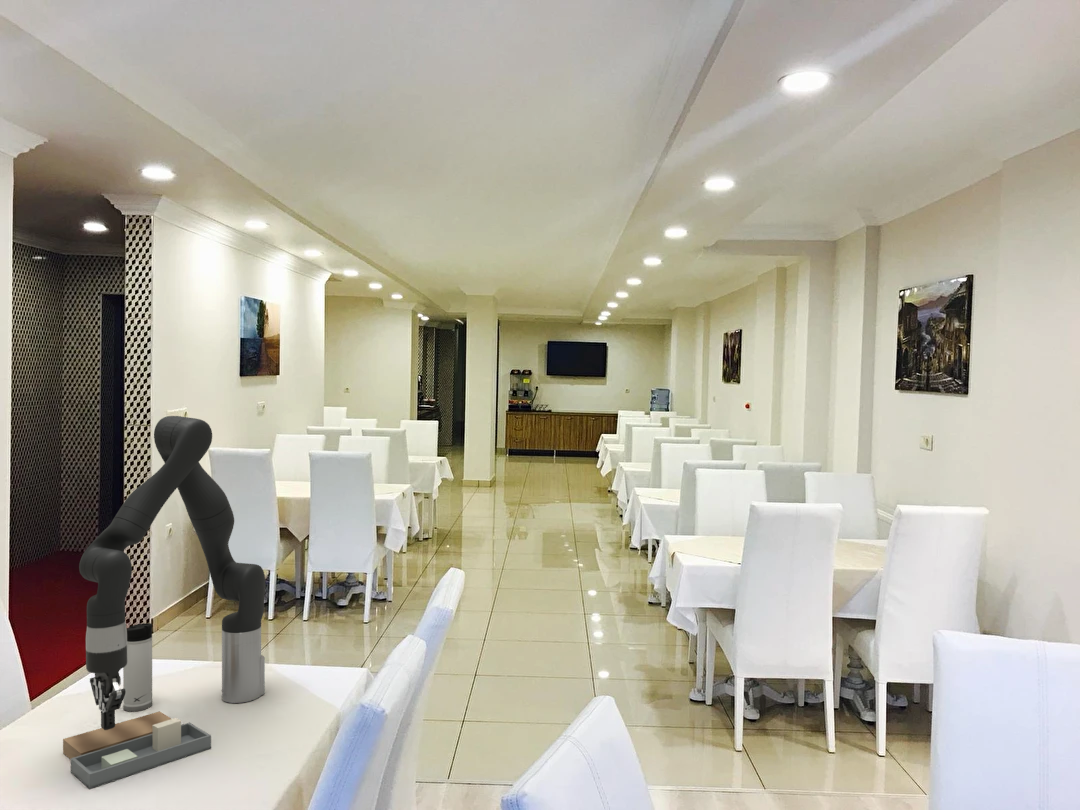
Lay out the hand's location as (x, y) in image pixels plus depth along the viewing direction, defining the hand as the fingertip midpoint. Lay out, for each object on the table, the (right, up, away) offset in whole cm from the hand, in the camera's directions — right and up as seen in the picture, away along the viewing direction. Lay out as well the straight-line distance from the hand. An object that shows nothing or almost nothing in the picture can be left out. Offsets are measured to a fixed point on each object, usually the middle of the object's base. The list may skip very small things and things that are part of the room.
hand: (108, 727), depth 168 cm
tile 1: (+5, -4, -5) cm, 8 cm away
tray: (+7, -7, 0) cm, 10 cm away
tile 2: (+9, -4, +6) cm, 11 cm away
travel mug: (-7, -6, +28) cm, 29 cm away
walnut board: (0, -6, +7) cm, 9 cm away
